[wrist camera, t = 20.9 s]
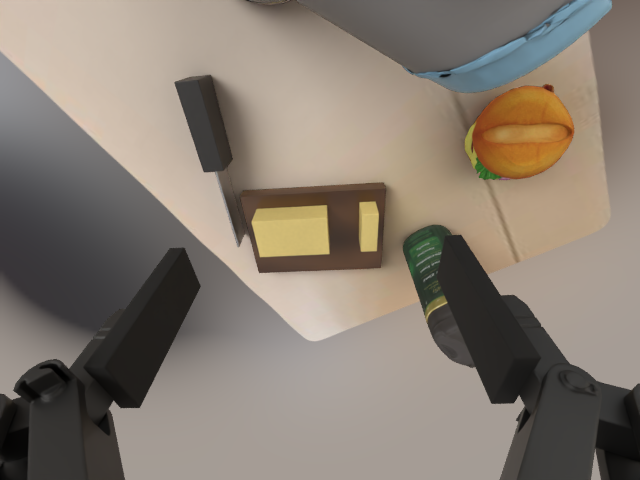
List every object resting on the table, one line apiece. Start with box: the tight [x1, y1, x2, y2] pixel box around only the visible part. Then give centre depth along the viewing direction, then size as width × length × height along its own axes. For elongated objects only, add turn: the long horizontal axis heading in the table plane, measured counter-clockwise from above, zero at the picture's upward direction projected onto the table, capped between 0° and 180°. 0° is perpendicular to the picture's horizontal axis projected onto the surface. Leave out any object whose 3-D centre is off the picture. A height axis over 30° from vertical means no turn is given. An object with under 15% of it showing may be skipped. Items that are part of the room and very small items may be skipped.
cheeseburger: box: [465, 84, 574, 180], centre depth 34 cm, size 10×11×10 cm
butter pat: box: [359, 202, 379, 252], centre depth 41 cm, size 6×2×4 cm, turn 3°
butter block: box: [252, 205, 330, 257], centre depth 42 cm, size 6×10×4 cm, turn 94°
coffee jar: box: [403, 225, 475, 368], centre depth 40 cm, size 10×8×19 cm
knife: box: [175, 75, 245, 247], centre depth 39 cm, size 22×3×4 cm, turn 5°
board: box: [240, 183, 386, 273], centre depth 45 cm, size 14×20×2 cm
